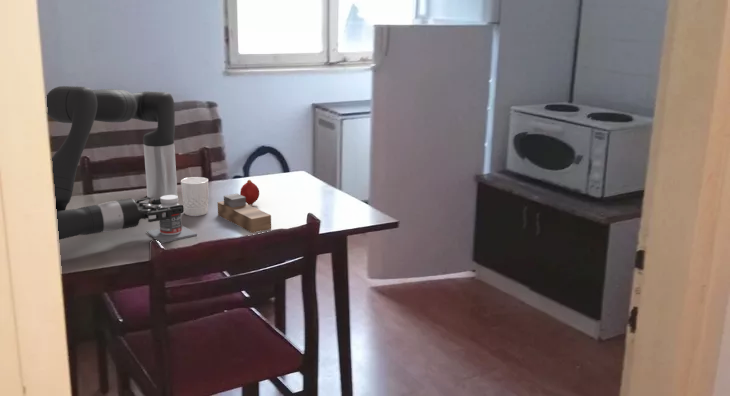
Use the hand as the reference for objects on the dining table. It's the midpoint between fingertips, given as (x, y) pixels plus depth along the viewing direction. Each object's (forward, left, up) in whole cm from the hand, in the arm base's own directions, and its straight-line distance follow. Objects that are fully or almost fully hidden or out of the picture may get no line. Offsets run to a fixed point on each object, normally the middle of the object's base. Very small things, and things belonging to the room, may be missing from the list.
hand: (176, 204), depth 199 cm
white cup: (-14, +12, -8) cm, 20 cm away
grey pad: (0, -2, -8) cm, 8 cm away
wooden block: (+2, +19, -8) cm, 21 cm away
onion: (-12, +29, -8) cm, 33 cm away
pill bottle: (0, -2, -8) cm, 8 cm away
